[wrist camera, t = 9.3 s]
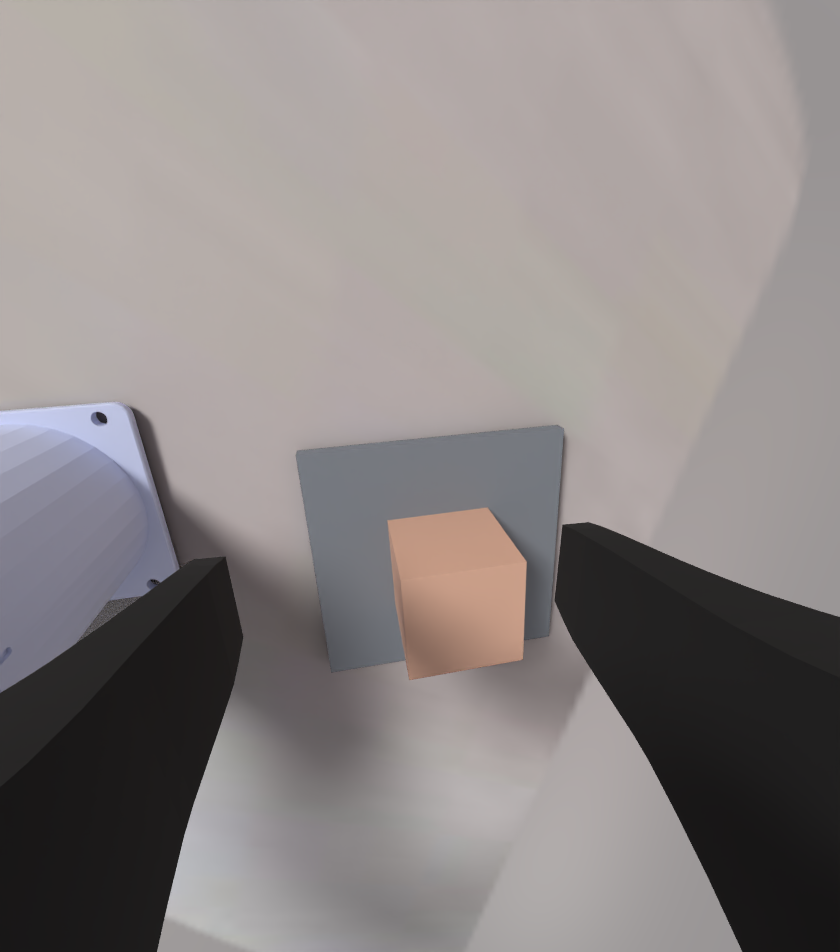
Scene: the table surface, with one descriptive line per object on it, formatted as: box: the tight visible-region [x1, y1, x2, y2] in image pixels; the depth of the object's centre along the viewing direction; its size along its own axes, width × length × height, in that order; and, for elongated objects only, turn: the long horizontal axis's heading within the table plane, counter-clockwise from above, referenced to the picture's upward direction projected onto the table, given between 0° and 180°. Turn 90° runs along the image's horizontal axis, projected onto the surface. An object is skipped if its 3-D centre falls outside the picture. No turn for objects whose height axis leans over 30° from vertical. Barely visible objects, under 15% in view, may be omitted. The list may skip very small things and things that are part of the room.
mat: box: [296, 425, 564, 672], centre depth 20 cm, size 11×11×1 cm
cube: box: [387, 507, 527, 680], centre depth 18 cm, size 4×4×4 cm
